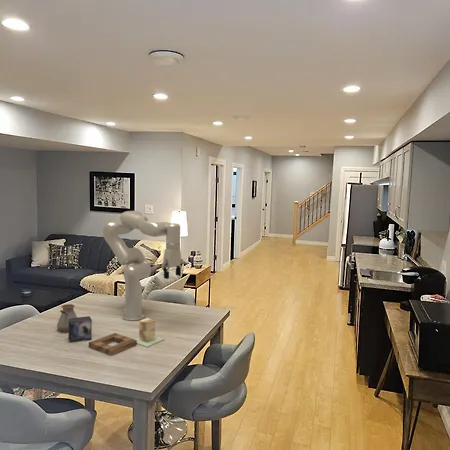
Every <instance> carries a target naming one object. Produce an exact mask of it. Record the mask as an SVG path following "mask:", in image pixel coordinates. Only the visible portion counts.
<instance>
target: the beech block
mask: <svg viewBox="0 0 450 450" xmlns="http://www.w3.org/2000/svg"><path fill="white" fill-rule="evenodd" d="M138 321H139V322H138V324H139V326H138V327H139V328H138V329H139V331H138V333H139V335H138V337H139V340H141V341H144V342H150V341H152V340H155V336H156V319H152V318H149V317H146V318H143V319H140V320H138Z"/></svg>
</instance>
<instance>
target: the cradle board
mask: <svg viewBox="0 0 450 450" xmlns="http://www.w3.org/2000/svg"><path fill="white" fill-rule="evenodd" d="M114 342H115V343H116V344H114V345H110V344H111V343H114ZM137 345H138V344H137V340H135V338H132V337H129V336H126V335H123V334H120V333H116V332H113V333H111V334H107V335H105V336H102V337H99V338H97V339H94V340H90V341H88V348H89V347H90V349H93V350H95V351H97V352H100V353H103V354H105V355H108V356H111V357H112V356H114V355H117V354H119V353H121V352H124V351H126V350H129V349H131V348H133V347H134V348H135V347H136V346H137Z"/></svg>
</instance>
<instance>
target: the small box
mask: <svg viewBox="0 0 450 450" xmlns="http://www.w3.org/2000/svg"><path fill="white" fill-rule="evenodd" d="M92 322H93V319H92V318H91V316H90V315H89V316H88V315H87V316H80V317H79V316H77V318H69V332H68V336H67V338H68V340H69V342H70V343H75V342H76V343H77V342H82V341H83V340H84V341H89V340H90V339H91V340H92V337H93V336H92V334H93V333H92V327H93V326H92V325H93V323H92ZM91 340H90V341H91Z"/></svg>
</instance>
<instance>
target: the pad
mask: <svg viewBox="0 0 450 450" xmlns="http://www.w3.org/2000/svg"><path fill="white" fill-rule="evenodd" d="M134 339H135V340H137V345H138V346H142V347H145V348H149V347H151V346H154V345H156V344H159V343H161V342H163V341H165V338H162V337H159V336H156V335H155V340H152V341H150V342H144V341H141V340H139V336H138V337H135V338H134Z"/></svg>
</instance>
